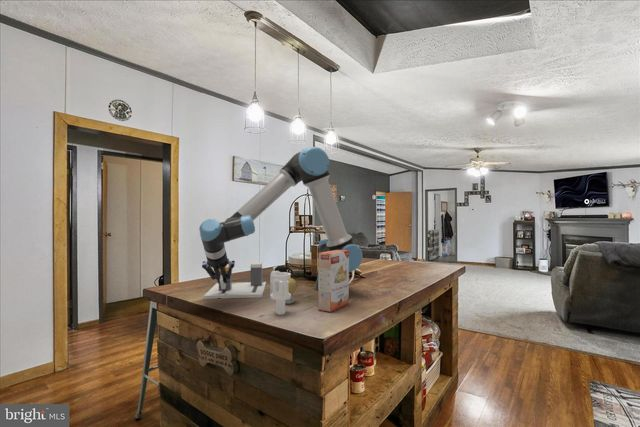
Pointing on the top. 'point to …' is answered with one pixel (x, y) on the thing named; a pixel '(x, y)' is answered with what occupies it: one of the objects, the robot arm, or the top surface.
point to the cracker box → (333, 280)
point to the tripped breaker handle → (229, 281)
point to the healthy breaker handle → (256, 274)
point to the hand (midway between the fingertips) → (223, 286)
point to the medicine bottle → (277, 268)
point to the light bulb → (291, 289)
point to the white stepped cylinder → (280, 290)
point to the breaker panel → (236, 291)
